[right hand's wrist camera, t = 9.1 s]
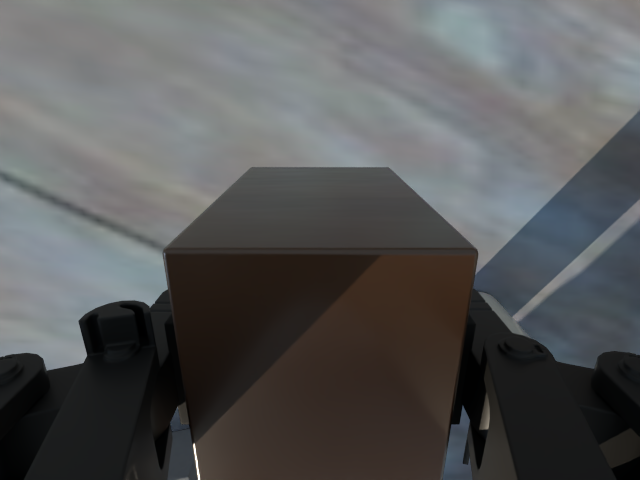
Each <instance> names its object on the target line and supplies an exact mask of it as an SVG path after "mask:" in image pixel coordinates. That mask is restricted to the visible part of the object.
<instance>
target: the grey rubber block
mask: <svg viewBox="0 0 640 480" xmlns="http://www.w3.org/2000/svg"><path fill="white" fill-rule="evenodd" d="M172 437H173V440H172V448H171V455H170V463H169V471H168V478H167V480H198V478H197V472H196V465H195V459H194V452H193V446H192V440H191V433H190V429H185V430H180V431H175V432H172Z"/></svg>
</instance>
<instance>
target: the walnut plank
mask: <svg viewBox="0 0 640 480" xmlns="http://www.w3.org/2000/svg"><path fill="white" fill-rule="evenodd" d="M163 259H164V266H165V272H166V279H167V285H168V291H169V298H170V304H171V311H172V317H173V324H174V330H175V336H176V343H177V349H178V356H179V362H180V369H181V375H182V382H183V388H184V394H185V401H186V407H187V414H188V420H189V427H190V433H191V440H192V446H193V452H194V459H195V465H196V472H197V478H198V480H442V479H443V472H444V466H445V460H446V454H447V447H448V441H449V435H450V429H451V422H452V416H453V410H454V403H455V397H456V391H457V385H458V378H459V372H460V366H461V360H462V353H463V347H464V341H465V335H466V328H467V322H468V316H469V309H470V303H471V297H472V291H473V284H474V278H475V272H476V266H477V259H478V251H477V249H476V248H475V247H474V246H473V245H472V244H471V243H470V242H469V241H468V240H466V239H465V238H464V237H463V236H462V235H461V234H460V233H459V232H458V231H457V230H456V229H455V228H454V227H452V226H451V225H450V224H449V223H448V222H447V221H446V220H445V219H444V218H443V217H442V216H441V215H440V214H438V213H437V212H436V211H435V210H434V209H433V208H432V207H431V206H430V205H429V204H428V203H427V202H426V201H424V200H423V199H422V198H421V197H420V196H419V195H418V194H417V193H416V192H415V191H414V190H413V189H412V188H410V187H409V186H408V185H407V184H406V183H405V182H404V181H403V180H402V179H401V178H400V177H399V176H398V175H396V174H395V173H394V172H393V171H392V170H391V169H390V168H388V167H252V168H250V169H249V170H248V171H247V172H246V173H245V174H243V175H242V176H241V177H240V178H239V179H238V180H237V181H236V182H235V183H234V184H233V185H232V186H231V187H230V188H229V189H227V190H226V191H225V192H224V193H223V194H222V195H221V196H220V197H219V198H218V199H217V200H216V201H215V202H214V203H213V204H211V205H210V206H209V207H208V208H207V209H206V210H205V211H204V212H203V213H202V214H201V215H200V216H199V217H198V218H196V219H195V220H194V221H193V222H192V223H191V224H190V225H189V226H188V227H187V228H186V229H185V230H184V231H183V232H182V233H180V234H179V235H178V236H177V237H176V238H175V239H174V240H173V241H172V242H171V243H170V244H169V245H168V246H167V247H166V248H164V250H163Z"/></svg>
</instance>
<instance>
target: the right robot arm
mask: <svg viewBox="0 0 640 480" xmlns="http://www.w3.org/2000/svg"><path fill="white" fill-rule="evenodd" d="M79 325H80V329H81V333H82V336H83V340H84V344H85V348H86V352H87V357H86V359H85V361H84V363H82V364H78V365H74V366H68V367H63V368H58V369H53V370H48V371H46V367H45V364H44V361H43V358H41V357H40V356H39V355H37V354H31V353H22V354H12V355H7V356H5V357H0V480H167V478H168V471H169V463H170V455H171V448H172V440H173V437H172V430H171V424H170V421H171V419H172V417H173V415H174V413H175V411H176V409H177V407H178V410H179V416H180V422H181V424H189V420H188V414H187V407H186V401H185V394H184V388H183V382H182V375H181V369H180V362H179V356H178V349H177V343H176V336H175V330H174V324H173V317H172V311H171V304H170V298H169V291H168V290H166V291H164V292H163V293H162V294H161V295H160V297H159V298H158V299H157V300H156V301H155V304H153V305H152V306H151V307H149V306H148V305H147V304H145V303H144V302H139V301H119V302H114V303H109V304H106V305H103V306H101V307H98V308H95V309H94V310H92V311H90V312H88V313H87V314H85V315H84V316H83V317H82V318H81V319H80V320H79ZM462 406H464V408H465V410H466V413H467V415H468V417H469V419H470V424H469V430H468V435H467V441H466V446H465V452H464V458H463V464H467V465H468V462H469V457H470V462H471V470H472V477H473V480H640V355H636V354H633V353H626V352H617V351H612V352H605V353H603V354H601V355H600V356H599V357H598V359H597V362H596V365H595V368H594V369H591V368H586V367H581V366H575V365H570V364H565V363H561V362H557V361H555V359H554V357H553V355H552V354H551V353H550V351H549V350H548V349H547V348H546V347H545V346H543V345H542V344H540V343H539V342H537V341H536V340H533V339H531V338H529V337H526V336H524V335H519V334H515V333H512V332H511V331H510V329H509V328H508V327H507V326H506V325H505V323H504V322H503V321H502V320H501V319H500V317H499V316H498V315H497V314H496V313H495V312H494V311H492V308H491V307H490V306H489V304H488V303H487V302H485V300H484V298H483V297H482V296H481V295H480V294H479V292H478V291H476V290H475V289H473V291H472V297H471V303H470V309H469V316H468V322H467V328H466V335H465V341H464V347H463V353H462V360H461V366H460V372H459V378H458V385H457V391H456V397H455V403H454V410H453V416H452V422H451V424H459V423H460V417H461V412H462Z"/></svg>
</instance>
